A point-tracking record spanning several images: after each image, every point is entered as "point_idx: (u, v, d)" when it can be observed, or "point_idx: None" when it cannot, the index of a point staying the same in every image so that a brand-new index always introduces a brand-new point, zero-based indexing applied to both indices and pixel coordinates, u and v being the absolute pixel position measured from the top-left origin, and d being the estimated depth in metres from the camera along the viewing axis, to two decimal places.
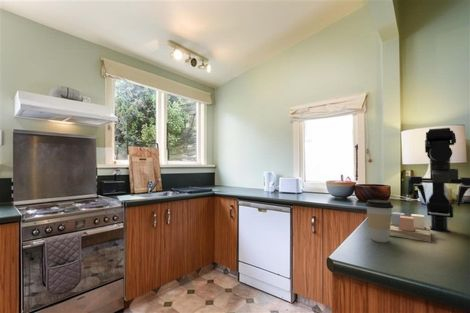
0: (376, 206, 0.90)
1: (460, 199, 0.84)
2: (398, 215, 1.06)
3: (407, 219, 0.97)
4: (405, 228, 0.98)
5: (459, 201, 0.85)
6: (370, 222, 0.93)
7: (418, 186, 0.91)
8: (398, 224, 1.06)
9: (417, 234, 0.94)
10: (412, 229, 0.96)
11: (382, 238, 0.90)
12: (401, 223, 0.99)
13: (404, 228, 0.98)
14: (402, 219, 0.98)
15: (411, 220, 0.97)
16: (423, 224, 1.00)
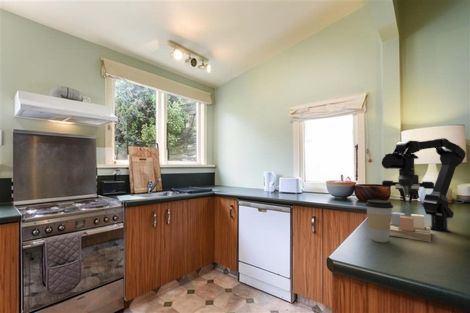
0: (376, 206, 0.90)
1: (411, 198, 1.06)
2: (398, 215, 1.06)
3: (407, 219, 0.97)
4: (405, 228, 0.98)
5: (410, 200, 1.06)
6: (370, 222, 0.93)
7: (399, 189, 1.07)
8: (398, 224, 1.06)
9: (417, 234, 0.94)
10: (412, 229, 0.96)
11: (382, 238, 0.90)
12: (401, 223, 0.99)
13: (404, 228, 0.98)
14: (402, 219, 0.98)
15: (411, 220, 0.97)
16: (423, 224, 1.00)
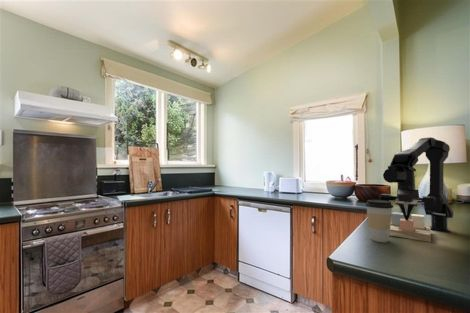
0: (376, 206, 0.90)
1: (408, 214, 0.98)
2: (398, 215, 1.06)
3: (407, 222, 0.97)
4: None
5: (407, 216, 0.99)
6: (370, 222, 0.93)
7: (399, 204, 0.99)
8: (398, 224, 1.06)
9: (417, 234, 0.94)
10: None
11: (382, 238, 0.90)
12: (401, 226, 0.99)
13: None
14: (402, 222, 0.98)
15: (411, 223, 0.96)
16: (423, 224, 1.00)
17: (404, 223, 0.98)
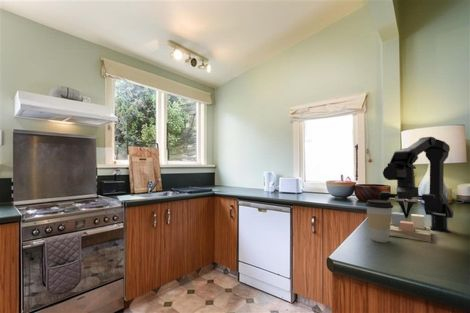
0: (376, 206, 0.90)
1: (408, 212, 0.98)
2: (398, 215, 1.06)
3: (407, 224, 0.97)
4: None
5: (407, 214, 0.99)
6: (370, 222, 0.93)
7: (399, 202, 0.99)
8: (398, 224, 1.06)
9: (417, 234, 0.94)
10: None
11: (382, 238, 0.90)
12: (401, 228, 0.98)
13: None
14: (402, 224, 0.98)
15: (412, 226, 0.96)
16: (423, 224, 1.00)
17: (404, 225, 0.98)
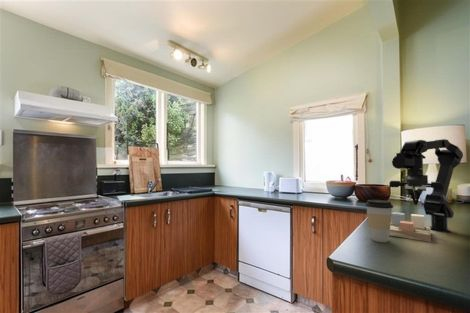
0: (376, 206, 0.90)
1: (417, 199, 1.04)
2: (398, 215, 1.06)
3: (407, 224, 0.97)
4: None
5: (416, 201, 1.04)
6: (370, 222, 0.93)
7: (409, 190, 1.04)
8: (398, 224, 1.06)
9: (417, 234, 0.94)
10: None
11: (382, 238, 0.90)
12: (401, 228, 0.98)
13: None
14: (402, 224, 0.98)
15: (412, 226, 0.96)
16: (423, 224, 1.00)
17: (404, 225, 0.98)
